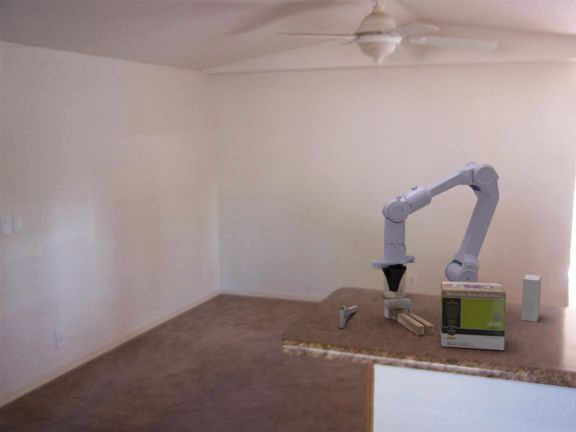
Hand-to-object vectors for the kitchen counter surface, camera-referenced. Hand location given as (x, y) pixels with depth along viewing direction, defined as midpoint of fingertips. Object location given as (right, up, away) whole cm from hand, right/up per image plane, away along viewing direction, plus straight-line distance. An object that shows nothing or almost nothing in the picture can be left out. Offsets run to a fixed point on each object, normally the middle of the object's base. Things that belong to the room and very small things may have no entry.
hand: (393, 291), depth 168 cm
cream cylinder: (+4, -5, +25) cm, 25 cm away
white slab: (+2, -8, +4) cm, 9 cm away
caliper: (-12, -9, +3) cm, 15 cm away
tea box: (+16, -11, -17) cm, 26 cm away
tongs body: (+4, -9, -3) cm, 10 cm away
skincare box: (+39, -8, +3) cm, 40 cm away
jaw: (+3, -9, -6) cm, 11 cm away
